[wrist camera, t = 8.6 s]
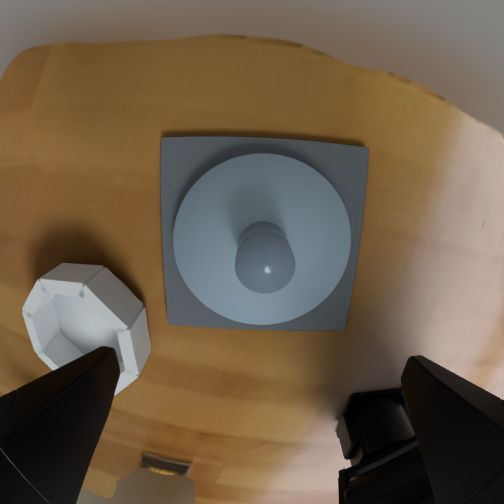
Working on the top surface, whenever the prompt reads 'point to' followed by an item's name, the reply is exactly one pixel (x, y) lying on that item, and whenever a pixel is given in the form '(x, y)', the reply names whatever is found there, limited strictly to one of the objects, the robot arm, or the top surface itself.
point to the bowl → (87, 318)
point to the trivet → (225, 148)
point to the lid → (262, 239)
